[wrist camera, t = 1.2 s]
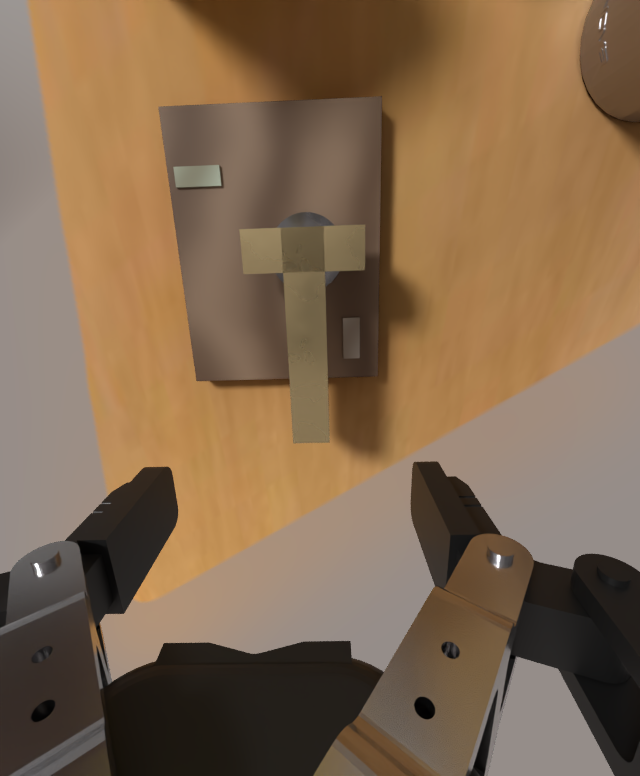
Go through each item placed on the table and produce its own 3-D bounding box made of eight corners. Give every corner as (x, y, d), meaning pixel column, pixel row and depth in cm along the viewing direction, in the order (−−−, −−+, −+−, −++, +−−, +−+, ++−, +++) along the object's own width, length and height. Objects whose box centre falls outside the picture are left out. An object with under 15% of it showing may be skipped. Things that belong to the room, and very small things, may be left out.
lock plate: (378, 106, 24) (382, 94, 23) (375, 371, 30) (378, 377, 28) (168, 116, 25) (157, 105, 23) (202, 375, 30) (195, 381, 29)
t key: (358, 212, 25) (365, 198, 20) (358, 413, 29) (364, 441, 24) (254, 216, 25) (236, 203, 20) (269, 415, 29) (258, 444, 25)
